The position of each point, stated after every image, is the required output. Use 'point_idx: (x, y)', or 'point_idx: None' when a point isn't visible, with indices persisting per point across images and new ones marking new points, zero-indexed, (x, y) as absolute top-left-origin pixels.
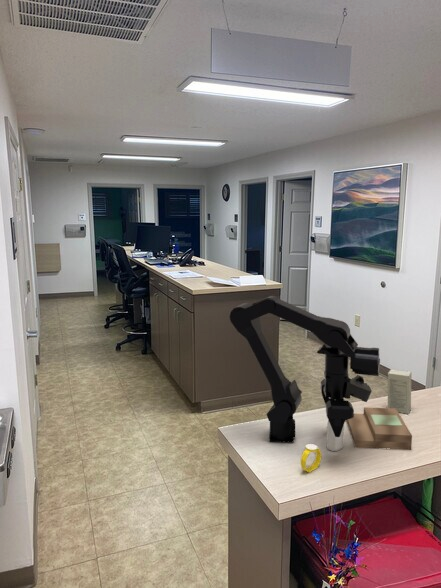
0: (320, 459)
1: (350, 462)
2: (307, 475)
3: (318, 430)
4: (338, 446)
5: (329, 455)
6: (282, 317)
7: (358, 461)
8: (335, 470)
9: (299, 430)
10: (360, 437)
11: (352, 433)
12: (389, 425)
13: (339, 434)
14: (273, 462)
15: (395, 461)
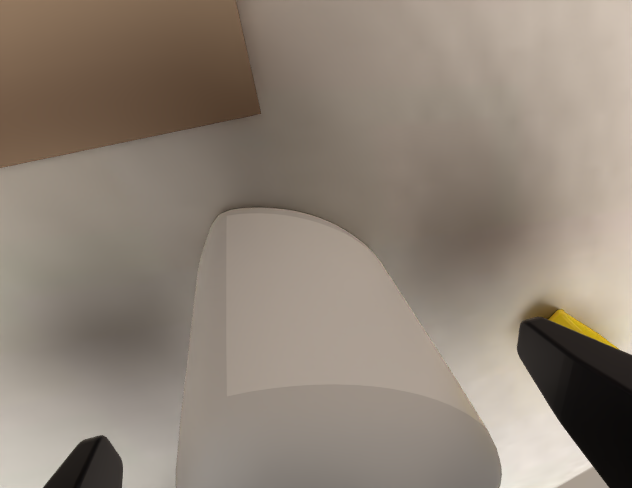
0: (576, 327)
1: (504, 126)
2: (616, 332)
3: (71, 401)
4: (361, 248)
5: (421, 274)
6: None
7: (489, 59)
8: (591, 215)
9: (141, 480)
10: (159, 45)
11: (66, 151)
12: None
13: (577, 340)
14: (504, 462)
15: None
